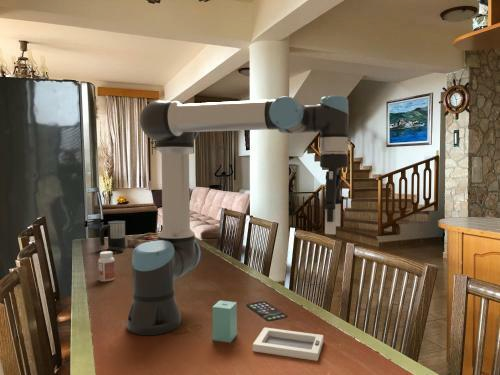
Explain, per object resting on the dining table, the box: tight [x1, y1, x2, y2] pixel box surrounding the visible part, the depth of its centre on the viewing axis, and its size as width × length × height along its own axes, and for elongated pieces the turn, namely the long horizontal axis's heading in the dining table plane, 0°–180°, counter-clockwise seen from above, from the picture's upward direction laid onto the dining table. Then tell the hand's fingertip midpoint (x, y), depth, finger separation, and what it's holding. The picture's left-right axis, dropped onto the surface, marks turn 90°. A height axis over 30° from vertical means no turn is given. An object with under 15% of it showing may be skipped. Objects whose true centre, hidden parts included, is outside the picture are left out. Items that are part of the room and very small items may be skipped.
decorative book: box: [143, 235, 158, 241], centre depth 227 cm, size 11×16×5 cm
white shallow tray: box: [252, 326, 324, 362], centre depth 100 cm, size 16×10×2 cm, turn 72°
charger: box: [211, 300, 238, 343], centre depth 105 cm, size 5×5×9 cm
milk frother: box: [98, 220, 127, 253], centre depth 212 cm, size 14×16×15 cm
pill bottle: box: [97, 250, 116, 282], centre depth 158 cm, size 6×6×11 cm
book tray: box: [127, 232, 159, 248], centre depth 227 cm, size 24×22×4 cm
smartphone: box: [245, 300, 289, 322], centre depth 124 cm, size 7×1×15 cm
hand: (333, 229), depth 110 cm, fingers open, 13 cm apart
